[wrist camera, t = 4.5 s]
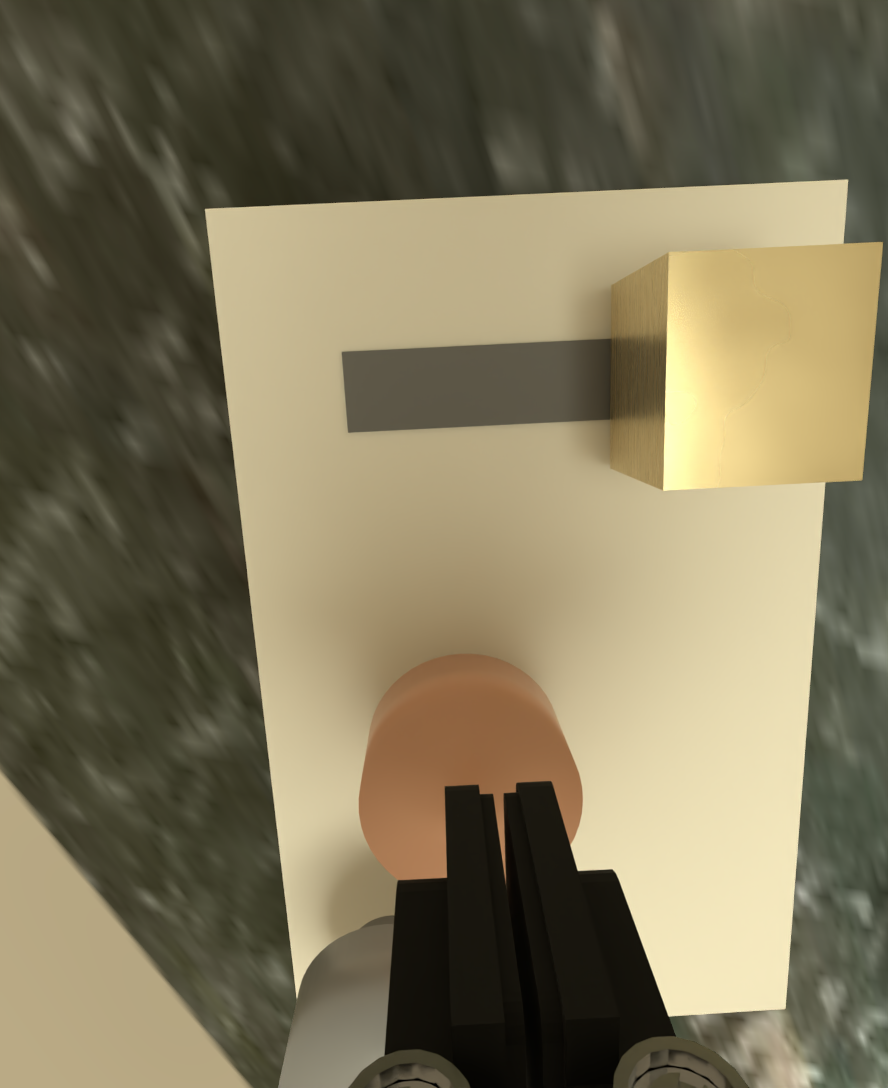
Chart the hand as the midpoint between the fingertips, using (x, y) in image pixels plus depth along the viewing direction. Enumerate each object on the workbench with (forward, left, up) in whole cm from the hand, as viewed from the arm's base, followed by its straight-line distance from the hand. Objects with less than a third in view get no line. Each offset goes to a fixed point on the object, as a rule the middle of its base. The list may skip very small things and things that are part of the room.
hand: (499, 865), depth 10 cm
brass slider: (-5, -7, -6) cm, 11 cm away
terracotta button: (0, +1, -7) cm, 7 cm away
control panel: (-2, 0, -10) cm, 10 cm away
